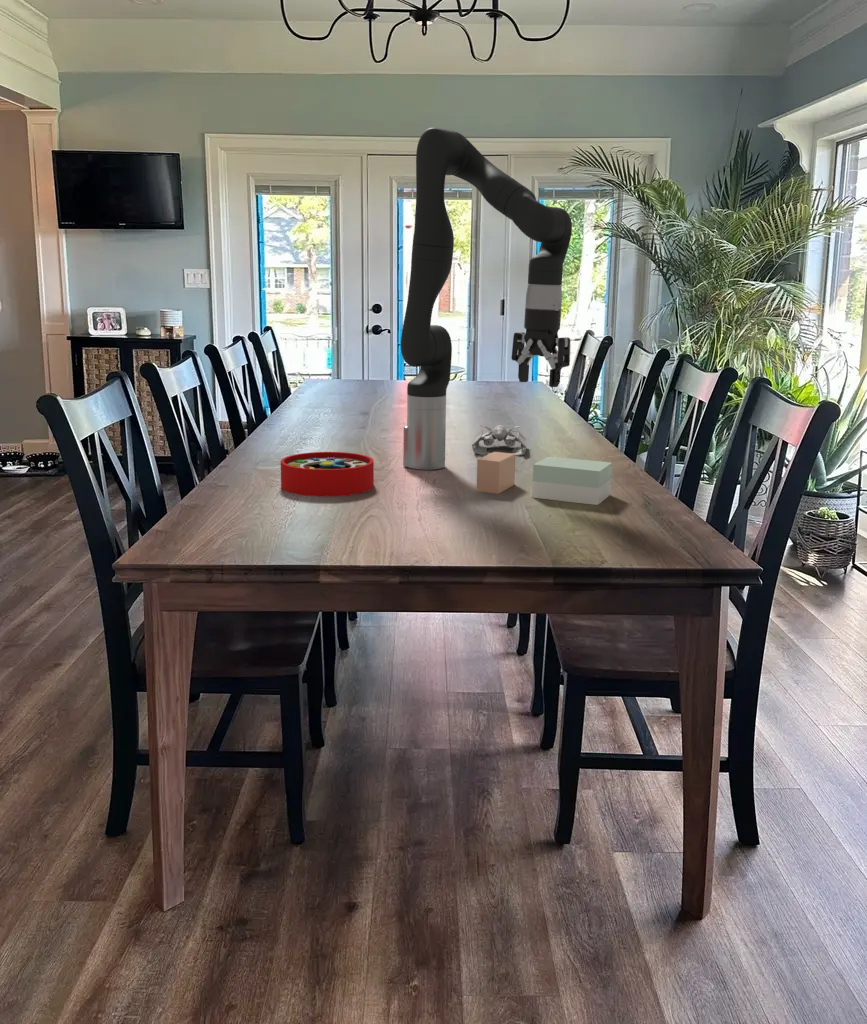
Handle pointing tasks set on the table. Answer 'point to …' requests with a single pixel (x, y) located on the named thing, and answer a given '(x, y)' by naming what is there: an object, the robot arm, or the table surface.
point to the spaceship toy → (499, 439)
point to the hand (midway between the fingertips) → (538, 384)
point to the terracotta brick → (495, 472)
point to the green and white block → (571, 480)
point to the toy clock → (327, 473)
